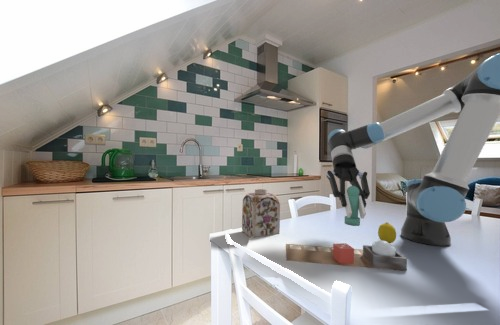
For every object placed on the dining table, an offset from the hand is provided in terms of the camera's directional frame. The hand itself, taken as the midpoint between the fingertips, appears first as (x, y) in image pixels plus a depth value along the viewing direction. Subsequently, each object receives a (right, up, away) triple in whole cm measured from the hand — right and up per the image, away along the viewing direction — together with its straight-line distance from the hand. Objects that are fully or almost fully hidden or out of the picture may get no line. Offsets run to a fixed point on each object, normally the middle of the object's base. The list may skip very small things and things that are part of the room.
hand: (356, 215), depth 64 cm
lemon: (+18, -14, +13) cm, 26 cm away
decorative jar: (-28, -13, +22) cm, 38 cm away
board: (-6, -13, 0) cm, 14 cm away
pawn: (0, -4, +4) cm, 5 cm away
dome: (+6, -11, -3) cm, 13 cm away
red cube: (-5, -12, -3) cm, 13 cm away
